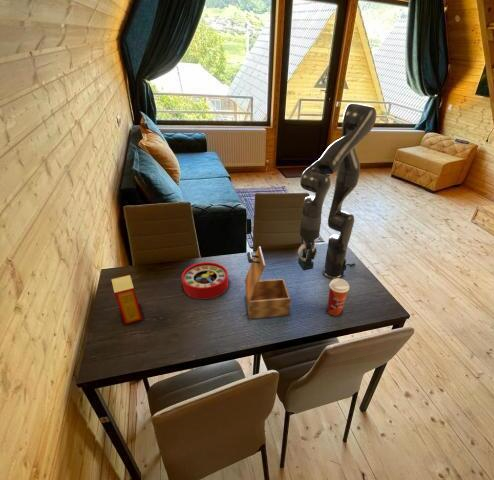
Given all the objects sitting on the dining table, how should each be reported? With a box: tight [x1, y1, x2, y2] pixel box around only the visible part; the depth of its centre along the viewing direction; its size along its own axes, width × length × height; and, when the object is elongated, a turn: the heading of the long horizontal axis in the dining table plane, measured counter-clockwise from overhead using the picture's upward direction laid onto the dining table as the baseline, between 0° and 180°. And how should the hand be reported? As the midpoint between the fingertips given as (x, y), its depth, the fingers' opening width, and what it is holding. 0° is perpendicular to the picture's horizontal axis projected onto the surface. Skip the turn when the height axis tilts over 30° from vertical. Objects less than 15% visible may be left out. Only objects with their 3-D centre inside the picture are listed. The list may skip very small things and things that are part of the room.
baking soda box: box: [110, 274, 144, 325], centre depth 122 cm, size 10×6×16 cm
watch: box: [297, 243, 319, 272], centre depth 128 cm, size 6×8×11 cm
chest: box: [245, 278, 291, 320], centre depth 133 cm, size 17×14×9 cm
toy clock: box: [181, 261, 229, 300], centre depth 143 cm, size 20×6×20 cm
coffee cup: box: [327, 277, 350, 317], centre depth 132 cm, size 8×8×15 cm
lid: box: [244, 245, 266, 302], centre depth 123 cm, size 18×14×5 cm
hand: (306, 261), depth 130 cm, fingers closed on watch, 4 cm apart
